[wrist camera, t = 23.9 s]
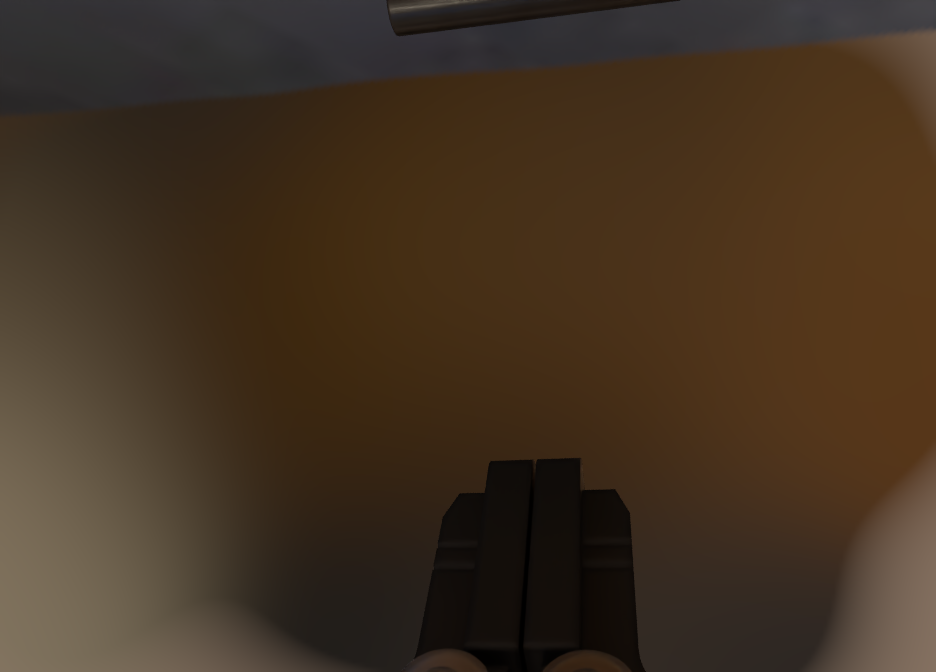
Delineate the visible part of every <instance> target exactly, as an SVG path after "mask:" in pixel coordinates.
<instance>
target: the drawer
mask: <svg viewBox="0 0 936 672" xmlns="http://www.w3.org/2000/svg"><path fill="white" fill-rule="evenodd" d="M673 1H680V0H387V8H388V14H389V18H390V22H391V25H392V28H393V30H394V32H395V34H396V35H397V36H406V35H413V34H421V33H429V32H437V31H445V30H453V29H461V28H468V27H476V26H484V25H492V24H500V23H508V22H516V21H523V20H531V19H539V18H547V17H555V16H563V15H570V14H578V13H586V12H594V11H602V10H610V9H618V8H625V7H633V6H641V5H649V4H657V3H665V2H673Z"/></svg>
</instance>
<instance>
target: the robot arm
mask: <svg viewBox="0 0 936 672" xmlns="http://www.w3.org/2000/svg"><path fill="white" fill-rule="evenodd" d="M401 672H646V671H645V670H644V668H643V666H642V663H641V660H640V656H639V649H638V634H637V619H636V603H635V588H634V572H633V556H632V539H631V524H630V513H629V511H628V510H627V508H626V506H625V505H624V503H623V501H622V500H621V498H620V497H619V495H618V493H617V492H616V490H615V489H611V490H585V488H584V477H583V467H582V460H581V458H564V459H538V460H537V462H536V464H535V461H534V460H511V461H491V462H490V463H489V467H488V474H487V481H486V488H485V493H462V494H459V495H458V497H457V498H456V500H455V501H454V502H453V504H452V505H451V506H450V508H449V509H448V511H447V512H446V514H445V515H444V516H443V519H442V525H441V529H440V535H439V540H438V548H437V551H436V556H435V560H434V570H433V572H432V576H431V582H430V586H429V592H428V597H427V602H426V607H425V612H424V617H423V623H422V628H421V633H420V638H419V644H418V648H417V652H416V655H415V658H414V660H412V662H410V663H409V664H408V665H407V666H406V667H405V668H404V669H403V670H402V671H401Z"/></svg>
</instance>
